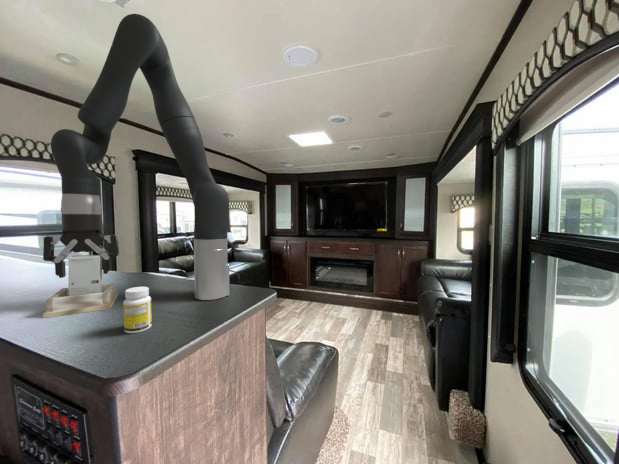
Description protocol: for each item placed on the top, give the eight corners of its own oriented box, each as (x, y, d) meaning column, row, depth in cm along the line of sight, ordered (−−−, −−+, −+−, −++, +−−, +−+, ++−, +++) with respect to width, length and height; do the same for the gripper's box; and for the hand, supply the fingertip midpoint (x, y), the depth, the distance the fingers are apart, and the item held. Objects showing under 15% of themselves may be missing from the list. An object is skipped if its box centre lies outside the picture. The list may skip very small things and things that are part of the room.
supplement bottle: (135, 323, 53) (134, 285, 53) (156, 324, 53) (156, 286, 53) (117, 333, 49) (116, 292, 48) (141, 334, 48) (140, 292, 48)
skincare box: (68, 306, 60) (66, 257, 60) (73, 301, 64) (71, 255, 64) (100, 302, 64) (99, 256, 63) (103, 297, 67) (102, 253, 67)
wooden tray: (117, 295, 72) (117, 282, 72) (110, 308, 62) (109, 293, 62) (61, 302, 66) (60, 288, 66) (42, 318, 56) (42, 300, 55)
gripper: (119, 213, 70) (121, 269, 71) (49, 212, 62) (52, 275, 63) (114, 213, 63) (116, 275, 64) (36, 212, 56) (39, 281, 57)
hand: (84, 275), depth 64 cm, fingers open, 8 cm apart
